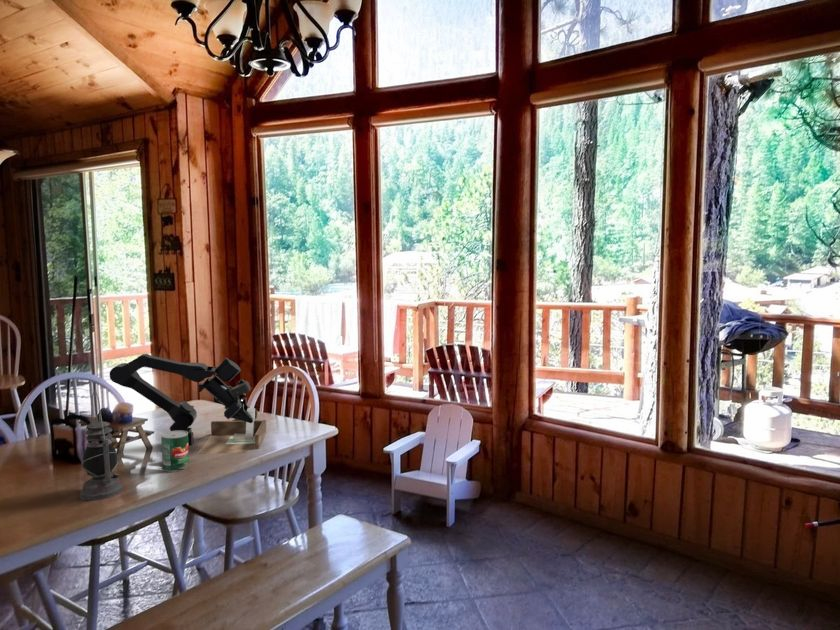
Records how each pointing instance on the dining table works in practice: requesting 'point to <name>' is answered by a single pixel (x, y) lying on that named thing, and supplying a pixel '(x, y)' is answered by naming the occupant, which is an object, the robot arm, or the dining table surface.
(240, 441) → the pad
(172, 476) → the dining table surface
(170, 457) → the canned tomato
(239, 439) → the bracket
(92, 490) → the lantern
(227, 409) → the robot arm
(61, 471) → the dining table surface
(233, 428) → the box
